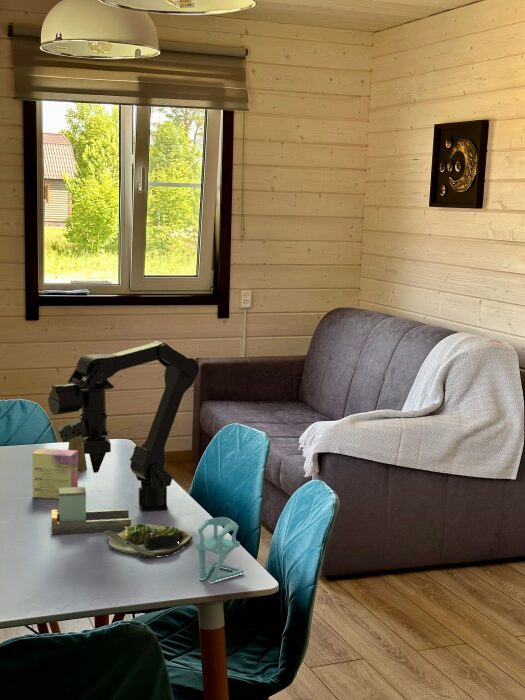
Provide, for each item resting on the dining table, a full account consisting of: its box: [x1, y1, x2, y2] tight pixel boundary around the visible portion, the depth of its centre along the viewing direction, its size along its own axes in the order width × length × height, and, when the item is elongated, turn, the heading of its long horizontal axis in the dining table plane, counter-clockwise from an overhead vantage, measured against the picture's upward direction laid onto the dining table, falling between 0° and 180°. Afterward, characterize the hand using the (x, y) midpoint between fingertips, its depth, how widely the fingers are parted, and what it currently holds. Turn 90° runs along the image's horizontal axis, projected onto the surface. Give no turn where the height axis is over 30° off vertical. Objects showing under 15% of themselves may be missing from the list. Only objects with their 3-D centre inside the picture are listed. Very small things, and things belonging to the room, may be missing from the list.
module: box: [58, 486, 87, 522], centre depth 214 cm, size 6×4×8 cm
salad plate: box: [103, 522, 193, 558], centre depth 206 cm, size 19×18×5 cm
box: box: [31, 447, 79, 500], centre depth 237 cm, size 10×6×12 cm, turn 84°
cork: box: [67, 436, 88, 473], centre depth 262 cm, size 6×6×11 cm
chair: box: [195, 516, 245, 582], centre depth 188 cm, size 8×8×12 cm
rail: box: [51, 508, 132, 536], centre depth 216 cm, size 18×9×4 cm, turn 103°
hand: (95, 472), depth 220 cm, fingers closed
